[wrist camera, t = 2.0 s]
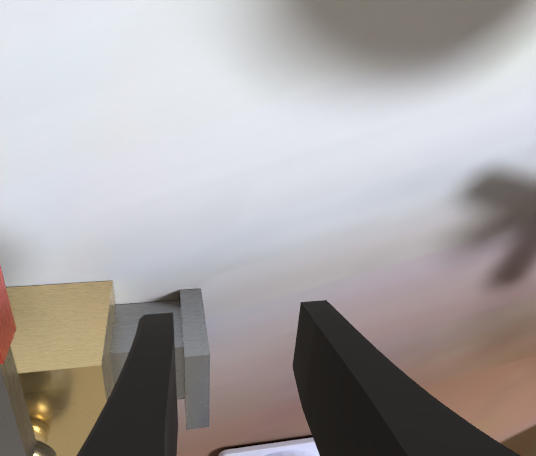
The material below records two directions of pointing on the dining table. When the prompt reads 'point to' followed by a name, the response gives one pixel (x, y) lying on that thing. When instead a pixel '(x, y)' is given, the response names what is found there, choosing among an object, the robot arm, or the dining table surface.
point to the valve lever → (14, 394)
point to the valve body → (96, 355)
